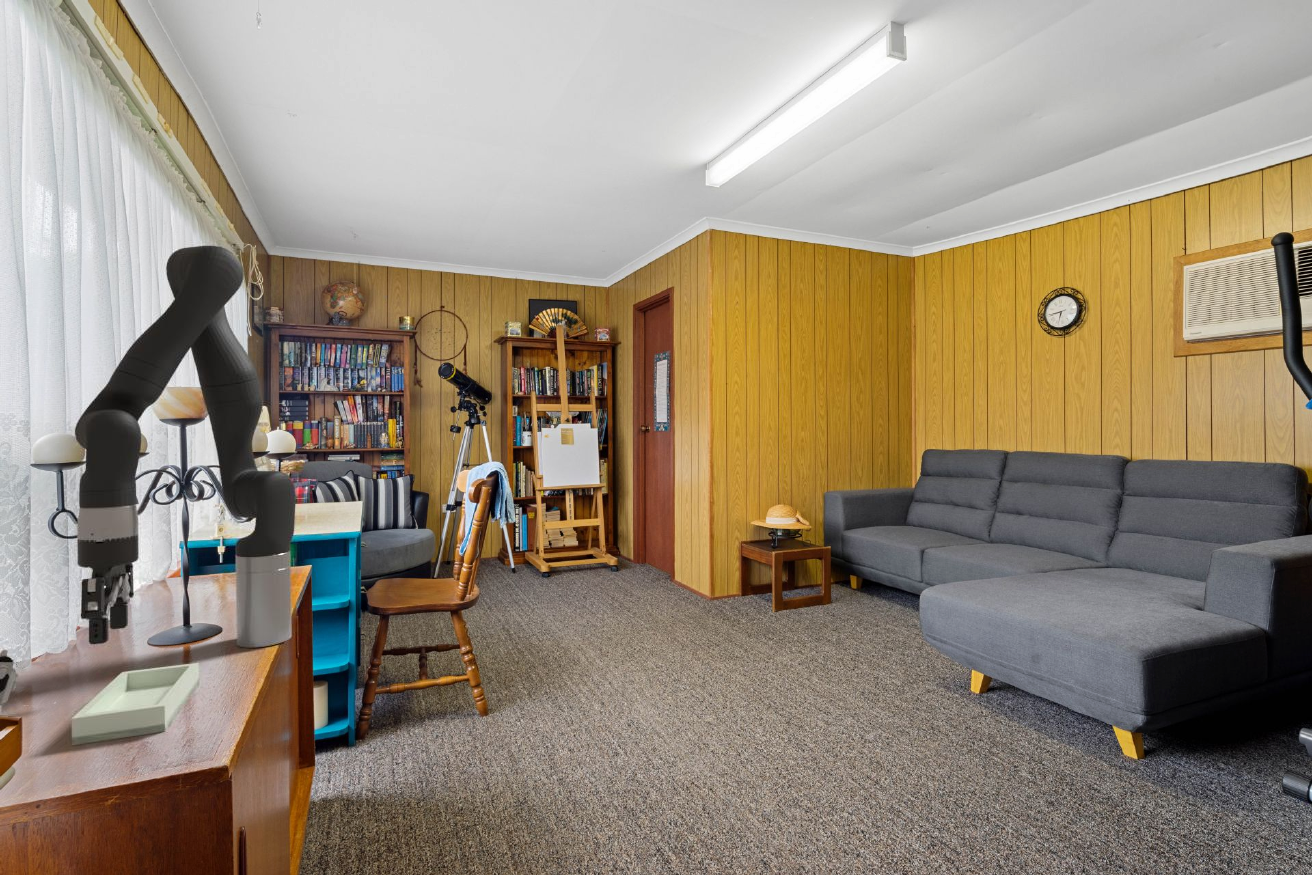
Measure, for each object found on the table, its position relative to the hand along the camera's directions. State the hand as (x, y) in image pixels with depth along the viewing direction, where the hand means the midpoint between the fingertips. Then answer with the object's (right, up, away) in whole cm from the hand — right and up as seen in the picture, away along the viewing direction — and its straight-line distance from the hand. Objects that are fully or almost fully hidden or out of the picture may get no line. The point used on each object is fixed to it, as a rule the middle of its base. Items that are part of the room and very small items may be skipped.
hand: (109, 635), depth 105 cm
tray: (+13, -8, -10) cm, 18 cm away
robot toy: (-8, 0, -8) cm, 11 cm away
